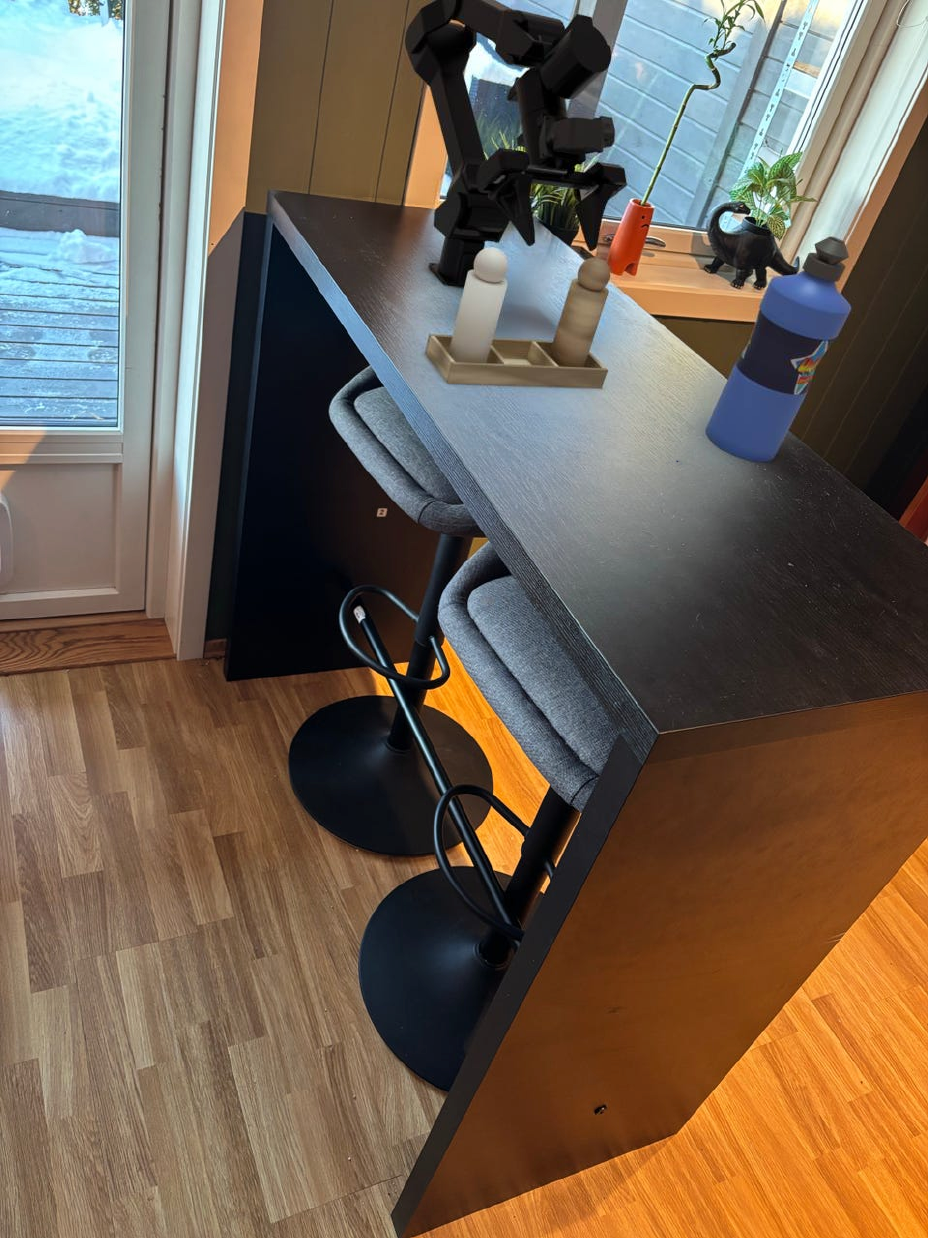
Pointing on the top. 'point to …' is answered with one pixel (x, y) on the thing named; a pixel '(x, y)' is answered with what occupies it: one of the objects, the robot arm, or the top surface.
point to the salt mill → (480, 307)
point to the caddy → (514, 365)
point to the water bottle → (781, 356)
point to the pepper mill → (581, 314)
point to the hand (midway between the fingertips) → (562, 247)
